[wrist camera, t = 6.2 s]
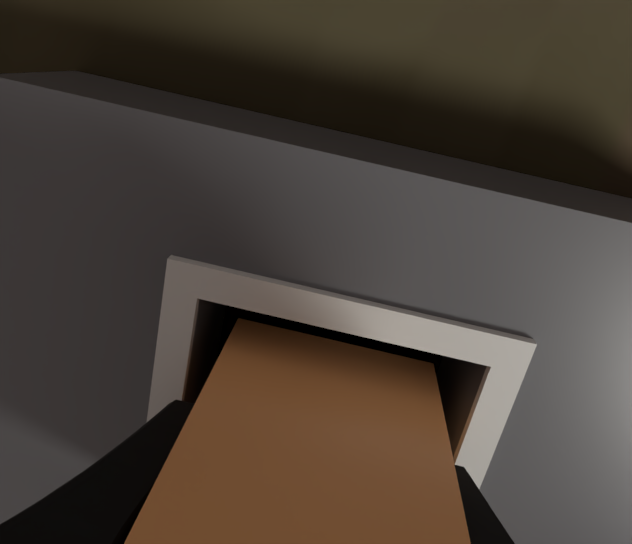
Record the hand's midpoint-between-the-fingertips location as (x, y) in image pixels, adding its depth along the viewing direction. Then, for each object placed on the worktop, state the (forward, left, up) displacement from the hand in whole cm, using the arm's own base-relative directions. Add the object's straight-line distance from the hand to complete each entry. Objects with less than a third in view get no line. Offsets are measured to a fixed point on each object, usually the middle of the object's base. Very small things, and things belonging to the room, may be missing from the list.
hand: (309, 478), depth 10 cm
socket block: (0, 0, -4) cm, 4 cm away
